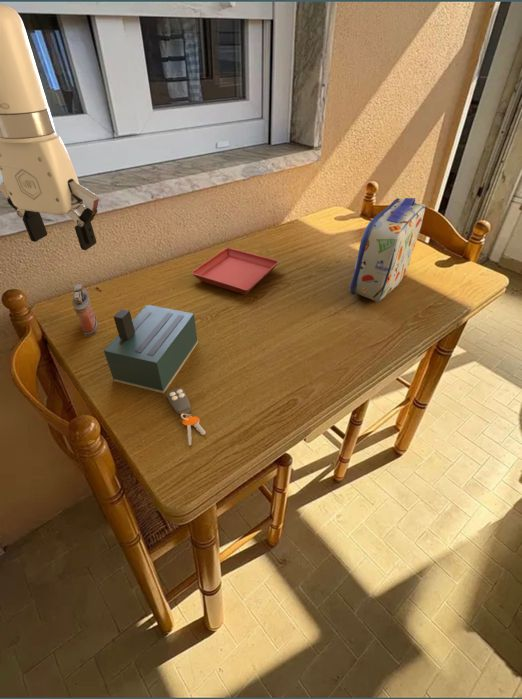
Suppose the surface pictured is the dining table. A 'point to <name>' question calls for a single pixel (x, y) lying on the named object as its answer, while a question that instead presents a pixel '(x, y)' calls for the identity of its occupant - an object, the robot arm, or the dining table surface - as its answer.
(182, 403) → the key chain
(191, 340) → the toaster
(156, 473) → the dining table surface
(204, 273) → the plant saucer
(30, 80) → the robot arm
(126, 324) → the slider
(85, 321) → the lighter
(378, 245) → the lunch box
